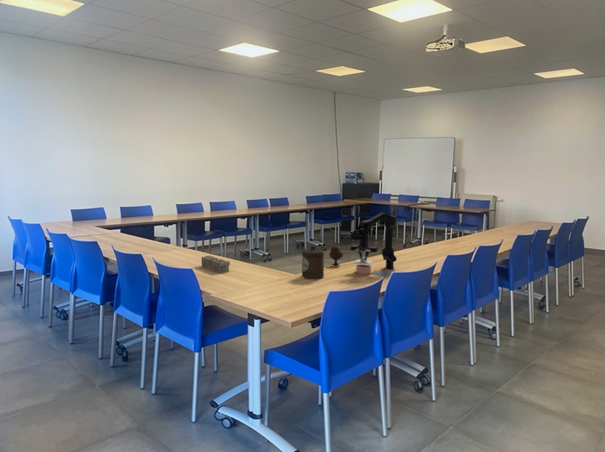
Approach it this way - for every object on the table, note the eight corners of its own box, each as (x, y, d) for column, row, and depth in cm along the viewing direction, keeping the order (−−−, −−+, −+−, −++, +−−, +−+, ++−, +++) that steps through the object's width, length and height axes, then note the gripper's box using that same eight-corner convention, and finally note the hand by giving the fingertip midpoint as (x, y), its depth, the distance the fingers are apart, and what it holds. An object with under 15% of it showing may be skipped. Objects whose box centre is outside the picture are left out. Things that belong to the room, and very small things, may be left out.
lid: (357, 260, 315) (357, 255, 314) (373, 261, 310) (374, 256, 310) (353, 263, 304) (353, 258, 304) (369, 265, 299) (369, 259, 299)
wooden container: (301, 274, 301) (301, 243, 298) (322, 274, 303) (322, 243, 300) (302, 279, 287) (303, 247, 284) (325, 279, 288) (325, 247, 285)
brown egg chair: (342, 267, 326) (342, 247, 324) (327, 266, 328) (328, 246, 326) (343, 264, 336) (344, 245, 334) (329, 263, 338) (329, 244, 336)
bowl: (359, 270, 315) (359, 263, 314) (372, 272, 310) (372, 265, 309) (353, 273, 306) (354, 266, 305) (367, 275, 301) (367, 268, 301)
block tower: (200, 267, 321) (220, 274, 298) (200, 256, 320) (220, 262, 298) (210, 266, 326) (230, 272, 304) (209, 255, 325) (229, 260, 303)
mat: (374, 270, 315) (374, 270, 315) (393, 273, 309) (393, 272, 309) (369, 275, 302) (369, 274, 302) (389, 277, 297) (389, 276, 296)
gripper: (348, 239, 301) (347, 261, 303) (374, 241, 294) (373, 264, 296) (352, 237, 311) (352, 258, 313) (378, 239, 304) (377, 261, 306)
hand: (363, 260), depth 307 cm, fingers closed on lid, 2 cm apart
